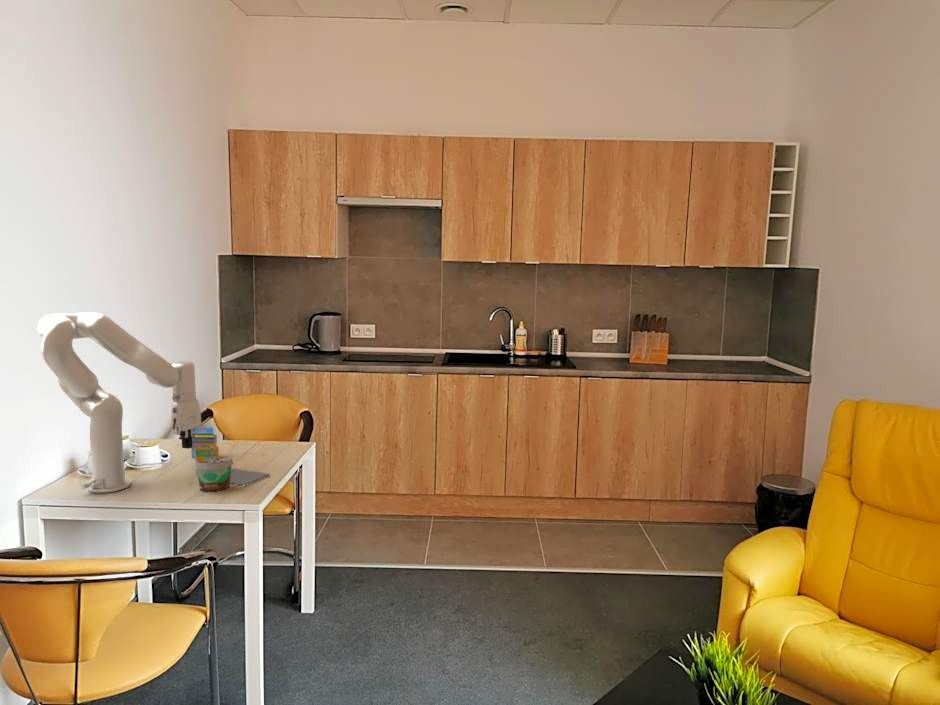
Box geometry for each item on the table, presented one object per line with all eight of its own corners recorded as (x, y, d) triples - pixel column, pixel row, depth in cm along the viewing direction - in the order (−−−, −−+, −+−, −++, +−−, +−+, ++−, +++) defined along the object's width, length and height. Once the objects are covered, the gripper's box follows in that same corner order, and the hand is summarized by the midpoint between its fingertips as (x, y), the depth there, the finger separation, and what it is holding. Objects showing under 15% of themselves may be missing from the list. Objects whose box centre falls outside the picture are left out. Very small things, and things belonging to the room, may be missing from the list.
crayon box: (220, 473, 264) (218, 441, 262) (217, 475, 261) (216, 443, 259) (198, 473, 263) (197, 441, 262) (196, 476, 260) (194, 443, 259)
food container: (193, 495, 240) (192, 465, 239) (195, 489, 246) (193, 459, 245) (234, 492, 244) (232, 462, 242) (234, 486, 250) (233, 457, 248)
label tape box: (218, 456, 285) (216, 424, 283) (214, 459, 281) (213, 427, 279) (195, 456, 285) (193, 424, 283) (191, 459, 281) (189, 427, 279)
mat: (245, 486, 249) (245, 484, 249) (207, 480, 255) (207, 478, 255) (269, 475, 261) (269, 473, 261) (233, 470, 267) (232, 468, 267)
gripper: (177, 401, 254) (180, 454, 256) (208, 393, 267) (210, 443, 270) (160, 400, 256) (163, 452, 259) (191, 392, 270) (194, 441, 273)
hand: (187, 447), depth 265 cm, fingers closed
